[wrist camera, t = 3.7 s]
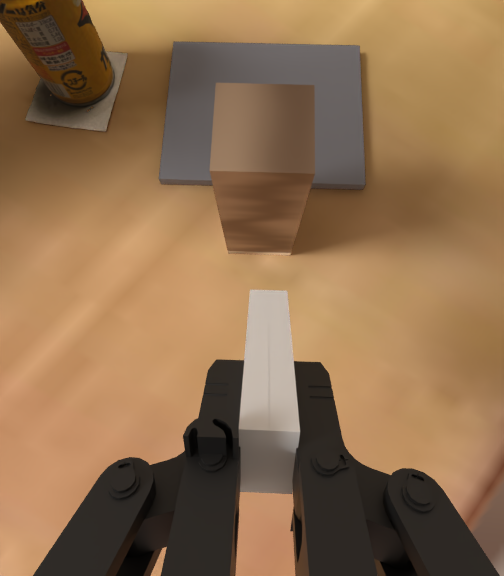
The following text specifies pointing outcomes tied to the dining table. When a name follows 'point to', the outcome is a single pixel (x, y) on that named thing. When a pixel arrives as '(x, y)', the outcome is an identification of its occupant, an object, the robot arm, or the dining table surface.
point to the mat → (264, 70)
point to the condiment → (65, 62)
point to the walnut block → (262, 163)
